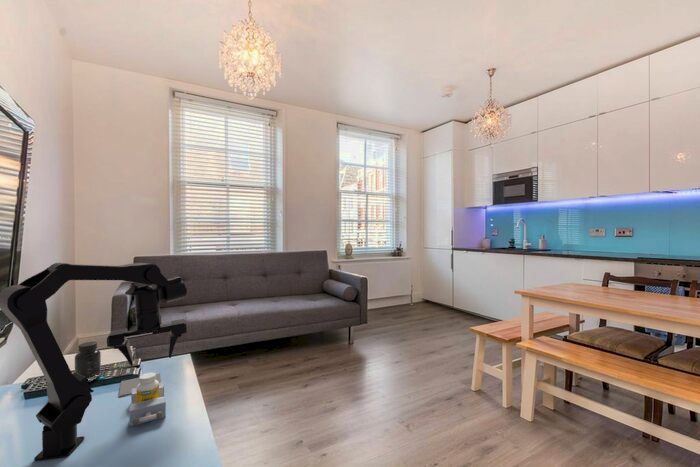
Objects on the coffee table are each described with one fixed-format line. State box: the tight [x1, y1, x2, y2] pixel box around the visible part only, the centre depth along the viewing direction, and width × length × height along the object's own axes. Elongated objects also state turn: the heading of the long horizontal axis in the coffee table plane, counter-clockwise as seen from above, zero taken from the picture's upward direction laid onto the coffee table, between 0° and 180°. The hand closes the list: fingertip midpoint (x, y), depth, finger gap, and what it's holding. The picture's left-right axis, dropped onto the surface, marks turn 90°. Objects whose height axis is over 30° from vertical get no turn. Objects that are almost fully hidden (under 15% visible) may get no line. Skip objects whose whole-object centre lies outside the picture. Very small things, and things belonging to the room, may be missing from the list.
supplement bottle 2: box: [136, 372, 159, 403], centre depth 90 cm, size 5×5×10 cm
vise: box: [129, 381, 167, 427], centre depth 89 cm, size 16×8×4 cm, turn 32°
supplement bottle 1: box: [74, 341, 102, 378], centre depth 108 cm, size 7×7×12 cm
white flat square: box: [118, 373, 162, 398], centre depth 104 cm, size 11×11×1 cm
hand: (151, 361), depth 91 cm, fingers open, 9 cm apart
